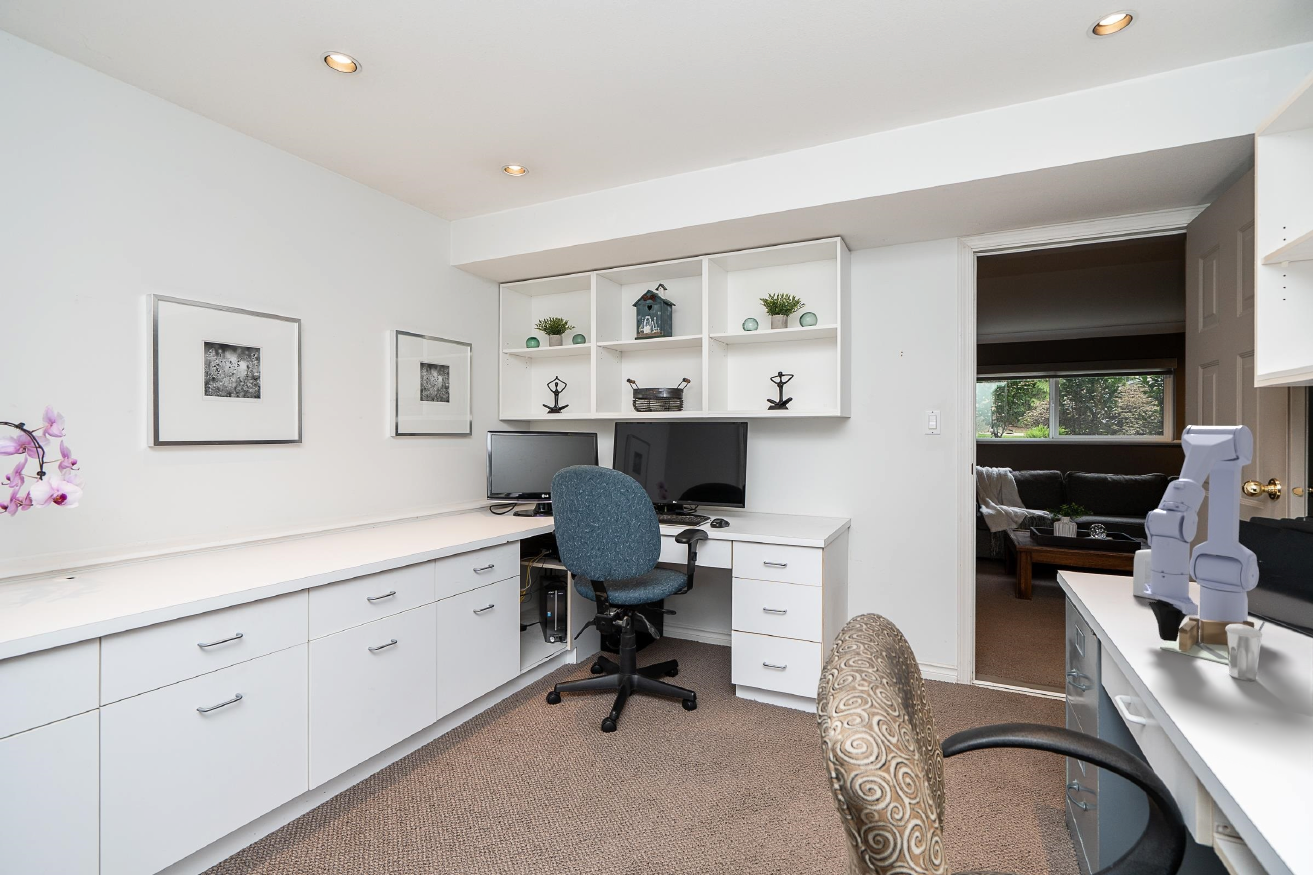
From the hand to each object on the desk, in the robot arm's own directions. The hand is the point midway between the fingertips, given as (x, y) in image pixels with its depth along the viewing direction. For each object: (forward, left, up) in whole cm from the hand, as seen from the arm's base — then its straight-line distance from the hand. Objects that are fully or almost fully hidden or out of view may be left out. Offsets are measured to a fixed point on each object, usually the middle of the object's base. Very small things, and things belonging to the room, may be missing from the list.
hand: (1168, 639), depth 117 cm
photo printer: (-39, -12, -2) cm, 41 cm away
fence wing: (-2, +2, -1) cm, 3 cm away
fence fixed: (-10, +6, -2) cm, 12 cm away
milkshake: (+7, +12, -2) cm, 14 cm away
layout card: (-6, +5, -2) cm, 8 cm away
